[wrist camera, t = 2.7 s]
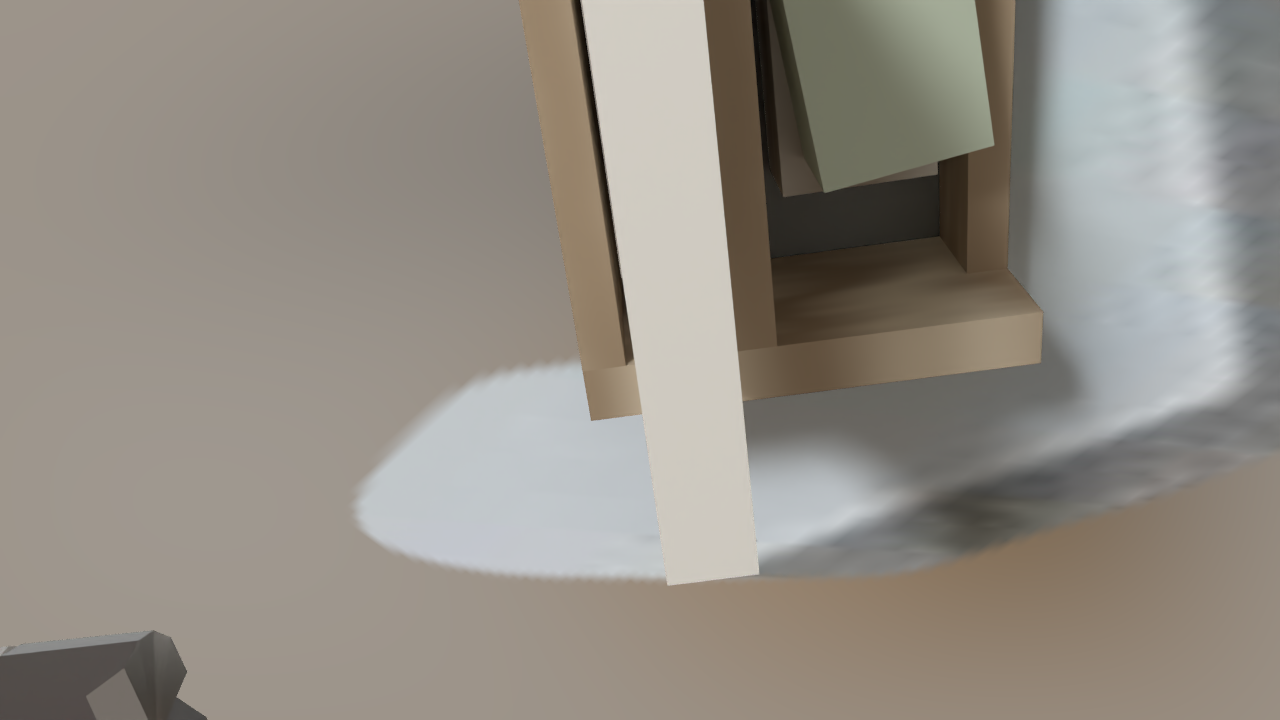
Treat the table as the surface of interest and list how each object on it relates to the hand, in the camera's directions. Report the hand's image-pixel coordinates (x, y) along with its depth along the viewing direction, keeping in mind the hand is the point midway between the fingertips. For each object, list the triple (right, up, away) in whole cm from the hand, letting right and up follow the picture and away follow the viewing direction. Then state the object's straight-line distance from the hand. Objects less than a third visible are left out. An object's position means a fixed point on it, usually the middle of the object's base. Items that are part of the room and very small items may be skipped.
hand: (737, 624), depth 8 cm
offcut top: (+5, +12, +22) cm, 25 cm away
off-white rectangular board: (-1, +13, +24) cm, 27 cm away
